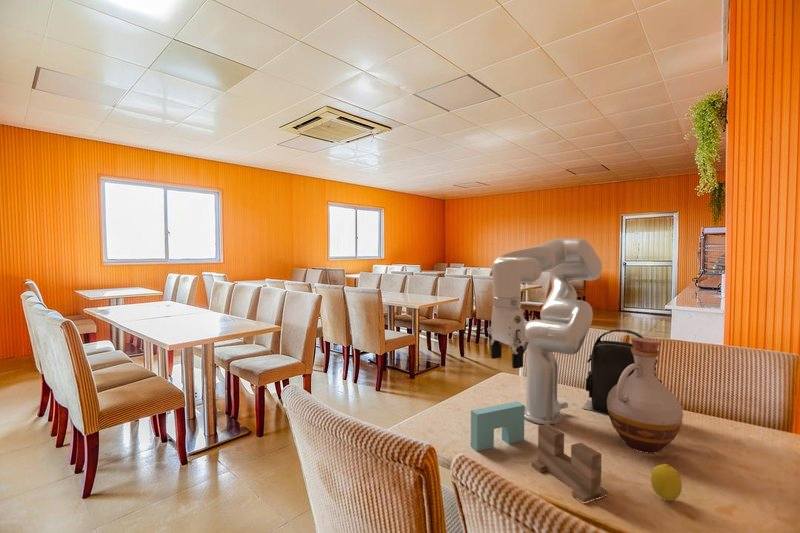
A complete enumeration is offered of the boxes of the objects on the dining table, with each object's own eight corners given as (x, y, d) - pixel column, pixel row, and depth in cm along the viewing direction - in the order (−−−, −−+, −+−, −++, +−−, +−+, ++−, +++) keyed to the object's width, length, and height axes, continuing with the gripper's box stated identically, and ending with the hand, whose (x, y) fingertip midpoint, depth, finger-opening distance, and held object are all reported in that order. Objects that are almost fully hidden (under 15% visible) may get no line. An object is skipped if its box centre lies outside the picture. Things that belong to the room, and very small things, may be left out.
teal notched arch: (517, 435, 115) (517, 401, 115) (524, 440, 113) (524, 405, 112) (470, 446, 109) (471, 410, 109) (476, 451, 106) (477, 414, 106)
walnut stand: (552, 460, 102) (553, 422, 101) (607, 496, 87) (608, 451, 87) (531, 466, 99) (532, 427, 99) (583, 504, 84) (584, 458, 84)
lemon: (644, 493, 88) (645, 458, 88) (667, 491, 89) (669, 457, 88) (663, 509, 83) (664, 472, 82) (687, 507, 83) (689, 470, 83)
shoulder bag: (662, 416, 129) (665, 331, 127) (661, 426, 121) (663, 336, 120) (587, 400, 142) (589, 323, 141) (582, 409, 135) (583, 327, 133)
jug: (649, 471, 97) (653, 350, 95) (587, 439, 113) (589, 336, 111) (696, 454, 105) (700, 342, 104) (632, 426, 121) (634, 330, 120)
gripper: (538, 306, 104) (538, 369, 105) (499, 298, 120) (499, 353, 121) (515, 308, 101) (515, 373, 102) (478, 299, 117) (478, 356, 118)
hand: (506, 362), depth 112 cm, fingers open, 9 cm apart
